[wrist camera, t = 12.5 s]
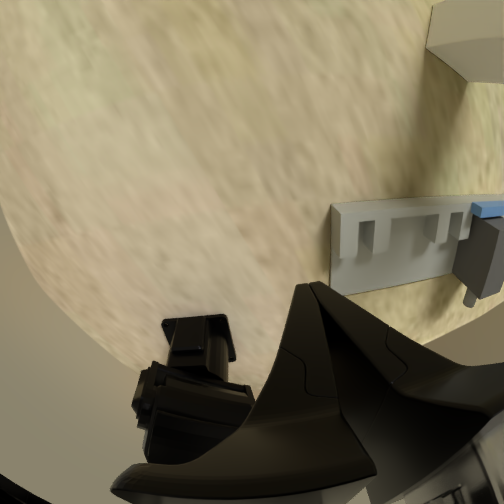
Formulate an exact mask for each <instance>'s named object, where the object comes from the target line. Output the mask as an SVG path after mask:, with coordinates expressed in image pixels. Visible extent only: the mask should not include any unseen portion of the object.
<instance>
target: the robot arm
mask: <svg viewBox="0 0 504 504" xmlns="http://www.w3.org/2000/svg"><path fill="white" fill-rule="evenodd" d="M220 319H224V320H220ZM166 324H168V325H166ZM161 326H162V328H163V331H164V333H165V336H166V338H167V340H168V343H169V345H170V350H169V354H168V359H167V364H166V366H165V365H162V364H159V362H156V361H152V365H151V367H148V369H146V370H141V374H140V378H139V381H138V385H137V388H136V391H135V395H134V398H133V401H132V408H133V410H134V411H135V413H136V414H137V416H136V419H138V424H137V428H140V429H143V430H145V435H144V440H143V447H142V448H143V451H144V455H145V457H146V460H147V462H148V463H138V464H134V465H131V466H130V467H129V468H128V469H126V470H125V471H124V472H123V473H121V474H120V476H118V477H117V478H116V480H115V481H114V482H113V484H112V486H111V488H110V491H111V492H112V493H113V494H114V495H116V496H117V497H120V498H122V499H123V500H126V501H128V502H130V503H132V504H346V503H347V502H348V501H350V500H351V499H352V498H353V497H354V496H355V495H356V494H357V493H359V492H360V491H361V490H362V489H363V488H364V487H365V486H366V489H367V493H368V496H369V499H370V502H371V504H391V503H393V502H396V501H399V500H401V499H404V500H405V503H406V504H504V362H503V363H496V364H488V365H480V366H465V365H460V364H458V363H455V362H453V361H451V360H449V359H447V358H445V357H443V356H441V355H439V354H438V353H436V352H434V351H432V350H430V349H428V348H426V347H424V346H422V345H420V344H419V343H417V342H415V341H413V340H411V339H410V338H408V337H406V336H405V335H403V334H401V333H400V332H398V331H397V330H395V329H394V328H392V327H389V325H387V324H386V323H384V322H383V321H381V320H380V319H378V318H377V317H375V316H374V315H372V314H371V313H369V312H367V311H366V310H364V309H363V308H361V307H360V306H358V305H357V304H355V303H354V302H352V301H351V300H349V299H347V298H346V297H344V296H343V295H341V294H340V293H338V292H337V291H335V290H333V289H332V288H330V287H329V286H327V285H326V284H324V283H323V282H321V281H317V282H311V283H309V284H308V283H304V284H297V285H296V286H295V290H294V294H293V298H292V302H291V306H290V309H289V313H288V317H287V321H286V324H285V328H284V331H283V335H282V339H281V342H280V346H279V349H278V352H277V356H276V359H275V362H274V364H273V367H272V370H271V372H270V374H269V376H268V379H267V381H266V383H265V385H264V387H263V389H262V391H261V393H260V395H259V396H258V398H257V400H256V402H255V399H254V396H253V393H252V390H251V387H250V386H249V385H239V384H234V383H230V382H228V362H234V361H236V353H235V349H234V344H233V340H232V336H231V331H230V327H229V322H228V318H227V316H226V315H224V314H217V315H206V316H196V317H184V318H172V319H164V320H163V321H162V324H161ZM231 357H232V358H231ZM0 504H51V503H49V502H47V501H46V500H44V499H42V498H40V497H38V496H36V495H34V494H32V493H31V492H29V491H27V490H25V489H24V488H22V487H20V486H19V485H17V484H15V483H14V482H12V481H11V480H9V479H8V478H6V477H5V476H3V475H1V474H0Z"/></svg>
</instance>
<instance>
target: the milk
mask: <svg viewBox="0 0 504 504" xmlns="http://www.w3.org/2000/svg"><path fill="white" fill-rule="evenodd" d="M426 49H428V50H429V51H430V52H432V53H433V54H435V55H436V56H437V57H439V58H440V59H441V60H442V61H444V62H445V63H446V64H448V65H449V66H450V67H451V68H452V69H454V70H455V71H456V72H457V73H458V74H460V75H461V76H462V77H463V78H464V79H465V80H466V81H468V82H482V83H499V84H504V0H445V1H442V2H439V3H436V4H434V5H433V9H432V16H431V22H430V28H429V33H428V38H427V43H426Z"/></svg>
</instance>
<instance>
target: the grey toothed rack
mask: <svg viewBox="0 0 504 504" xmlns="http://www.w3.org/2000/svg"><path fill="white" fill-rule="evenodd" d="M473 214H475V215H476V216H478V217H480V218H485V217H495V216H502V217H503V218H504V194H482V195H453V196H432V197H414V198H399V199H385V200H372V201H359V202H348V203H337V204H331V269H330V288H332V289H333V290H335V291H337V292H338V293H340V294H341V295H343V296H344V295H350V294H355V293H361V292H366V291H372V290H377V289H382V288H387V287H392V286H397V285H402V284H406V283H411V282H416V281H420V280H425V279H429V278H433V277H438V276H442V275H446V274H450V273H452V268H453V264H454V260H455V255H456V251H457V246H458V241H459V240H463V239H468V237H469V232H470V227H471V221H472V216H473Z"/></svg>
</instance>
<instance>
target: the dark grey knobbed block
mask: <svg viewBox="0 0 504 504" xmlns="http://www.w3.org/2000/svg"><path fill="white" fill-rule="evenodd" d="M452 273H453V274H454V275H455V276H456V277H457V278H458V279H459V280H460V281H461V282H462V283H463V284H464V285H465V286H466V287H467V291H466V294H465V297H464V300H463V304H464V305H465V306H466V307H469V308H472V307H474V305H475V302H476V299H477V298H478V299H479V300H480V299H483V298H485V297H488V296H491V295H493V294H496V293H498V292H500V290H501V287H502V284H503V281H504V218H503V217H502V216H495V217H485V218H480V217H478V216H476V215H475V214H473V216H472V221H471V227H470V232H469V237H468V239H463V240H459V241H458V246H457V251H456V255H455V260H454V264H453V268H452Z"/></svg>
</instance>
